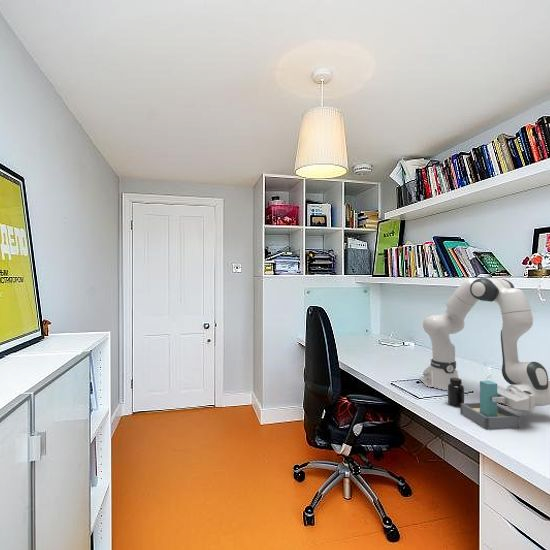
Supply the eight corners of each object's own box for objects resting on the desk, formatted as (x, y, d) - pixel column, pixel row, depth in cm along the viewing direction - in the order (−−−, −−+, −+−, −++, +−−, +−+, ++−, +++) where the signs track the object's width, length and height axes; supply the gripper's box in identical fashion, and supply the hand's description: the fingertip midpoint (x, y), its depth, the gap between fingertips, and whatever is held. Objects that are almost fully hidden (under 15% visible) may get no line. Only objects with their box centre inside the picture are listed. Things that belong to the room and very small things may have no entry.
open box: (460, 413, 154) (460, 403, 154) (490, 412, 155) (490, 402, 155) (486, 429, 138) (486, 418, 138) (519, 427, 140) (519, 416, 140)
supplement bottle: (459, 402, 168) (459, 376, 168) (467, 407, 161) (467, 381, 161) (444, 402, 168) (444, 376, 168) (452, 407, 161) (452, 381, 161)
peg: (479, 416, 149) (479, 380, 149) (489, 416, 149) (489, 380, 149) (487, 420, 144) (487, 384, 144) (497, 420, 145) (497, 383, 145)
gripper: (498, 380, 158) (470, 381, 157) (537, 396, 138) (504, 397, 137) (498, 394, 158) (469, 395, 157) (537, 412, 138) (504, 414, 137)
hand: (486, 396), depth 147 cm, fingers closed on peg, 4 cm apart
